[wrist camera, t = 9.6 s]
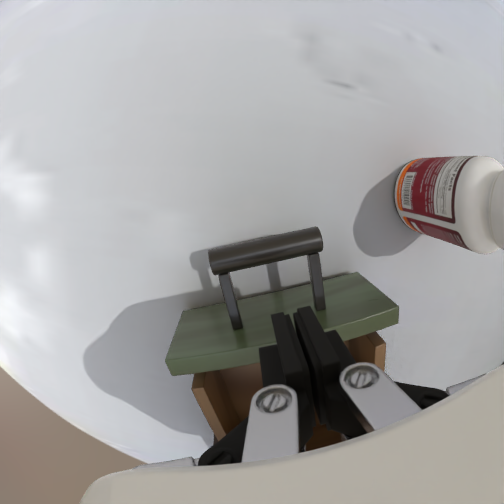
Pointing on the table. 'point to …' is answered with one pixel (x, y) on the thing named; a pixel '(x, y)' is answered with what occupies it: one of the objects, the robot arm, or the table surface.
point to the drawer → (271, 327)
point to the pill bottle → (454, 200)
